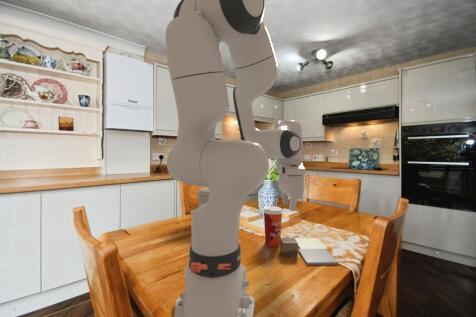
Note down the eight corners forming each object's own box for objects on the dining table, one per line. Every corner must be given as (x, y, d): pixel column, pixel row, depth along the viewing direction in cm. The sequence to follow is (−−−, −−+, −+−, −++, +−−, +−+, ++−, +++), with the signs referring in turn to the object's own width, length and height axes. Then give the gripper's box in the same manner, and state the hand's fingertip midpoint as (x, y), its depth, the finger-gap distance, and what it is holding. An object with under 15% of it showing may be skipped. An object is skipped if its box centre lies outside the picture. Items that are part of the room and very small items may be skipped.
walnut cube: (297, 257, 78) (297, 243, 78) (283, 257, 78) (283, 243, 77) (293, 250, 83) (293, 237, 83) (280, 251, 83) (280, 237, 82)
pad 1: (327, 250, 83) (327, 248, 83) (300, 251, 82) (300, 248, 82) (317, 239, 93) (317, 238, 93) (293, 240, 92) (293, 238, 92)
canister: (189, 223, 114) (189, 181, 113) (217, 216, 126) (217, 178, 126) (210, 232, 101) (209, 185, 100) (239, 223, 113) (239, 182, 112)
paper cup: (275, 249, 84) (275, 212, 83) (259, 243, 89) (259, 208, 88) (286, 243, 89) (286, 208, 89) (270, 238, 95) (270, 204, 94)
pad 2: (338, 264, 73) (338, 262, 73) (307, 264, 72) (307, 262, 72) (325, 250, 83) (325, 248, 83) (298, 251, 82) (298, 248, 82)
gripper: (274, 165, 89) (274, 200, 90) (287, 170, 69) (287, 214, 70) (290, 165, 90) (290, 200, 90) (307, 170, 69) (307, 214, 70)
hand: (288, 206), depth 80 cm, fingers open, 8 cm apart
